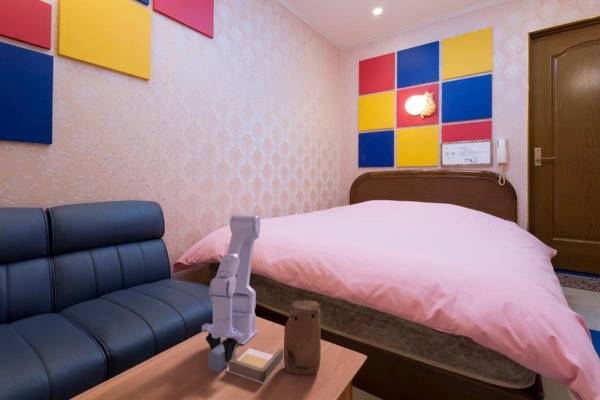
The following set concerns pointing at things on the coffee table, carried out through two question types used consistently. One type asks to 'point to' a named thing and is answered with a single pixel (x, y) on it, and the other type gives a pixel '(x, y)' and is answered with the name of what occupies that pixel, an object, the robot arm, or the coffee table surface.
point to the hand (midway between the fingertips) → (222, 358)
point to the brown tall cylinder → (303, 338)
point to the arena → (255, 364)
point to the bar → (218, 358)
